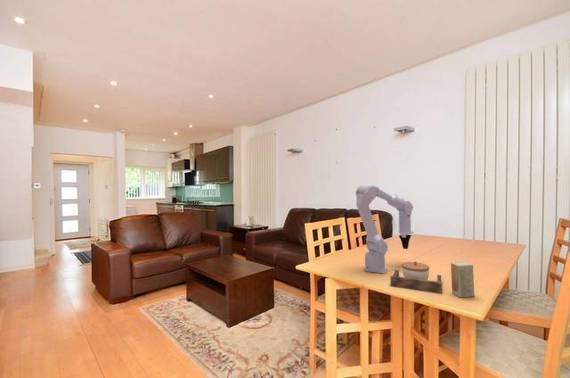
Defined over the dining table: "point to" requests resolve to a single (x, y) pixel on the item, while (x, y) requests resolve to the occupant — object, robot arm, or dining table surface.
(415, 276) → the lidded jar
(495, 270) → the dining table surface
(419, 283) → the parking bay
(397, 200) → the robot arm
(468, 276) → the skincare box
